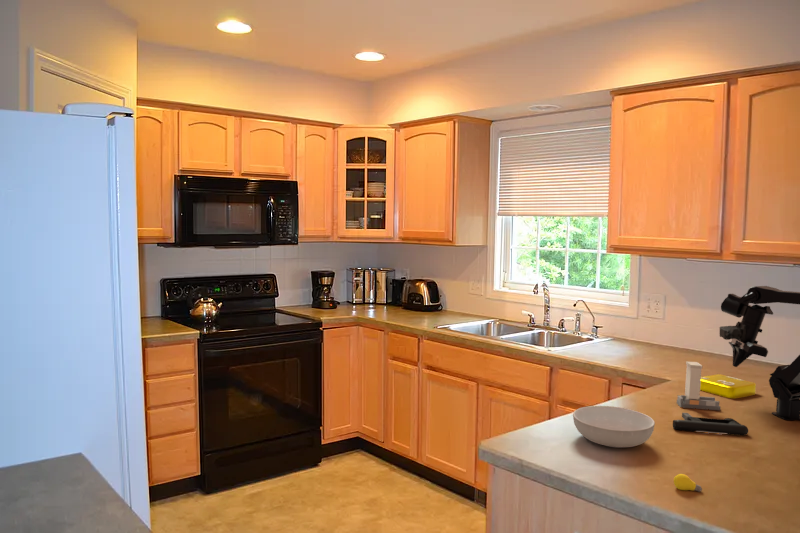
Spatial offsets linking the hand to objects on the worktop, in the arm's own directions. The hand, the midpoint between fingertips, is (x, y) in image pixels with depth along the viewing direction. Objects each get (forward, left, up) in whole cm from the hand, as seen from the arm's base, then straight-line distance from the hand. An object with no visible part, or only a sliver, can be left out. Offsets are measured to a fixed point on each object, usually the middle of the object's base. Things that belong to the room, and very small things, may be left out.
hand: (734, 366), depth 206 cm
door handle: (-22, +23, -13) cm, 35 cm away
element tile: (+15, -7, -13) cm, 22 cm away
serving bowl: (-34, +57, -13) cm, 68 cm away
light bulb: (-65, +53, -13) cm, 84 cm away
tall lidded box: (-3, +16, -11) cm, 20 cm away
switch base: (-3, +14, -13) cm, 19 cm away
